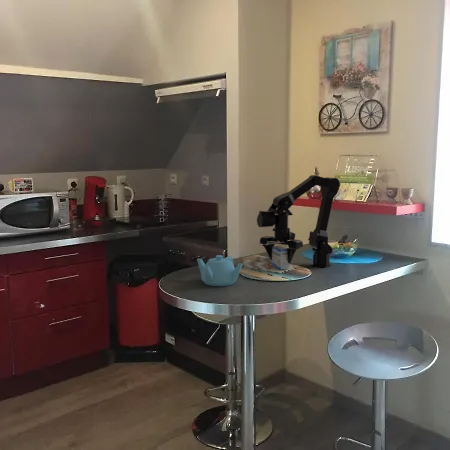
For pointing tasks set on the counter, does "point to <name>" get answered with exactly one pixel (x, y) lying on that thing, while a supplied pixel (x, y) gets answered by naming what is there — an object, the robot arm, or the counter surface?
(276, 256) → the medicine box
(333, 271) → the counter surface
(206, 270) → the teapot
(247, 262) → the shelf lane
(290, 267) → the mat
